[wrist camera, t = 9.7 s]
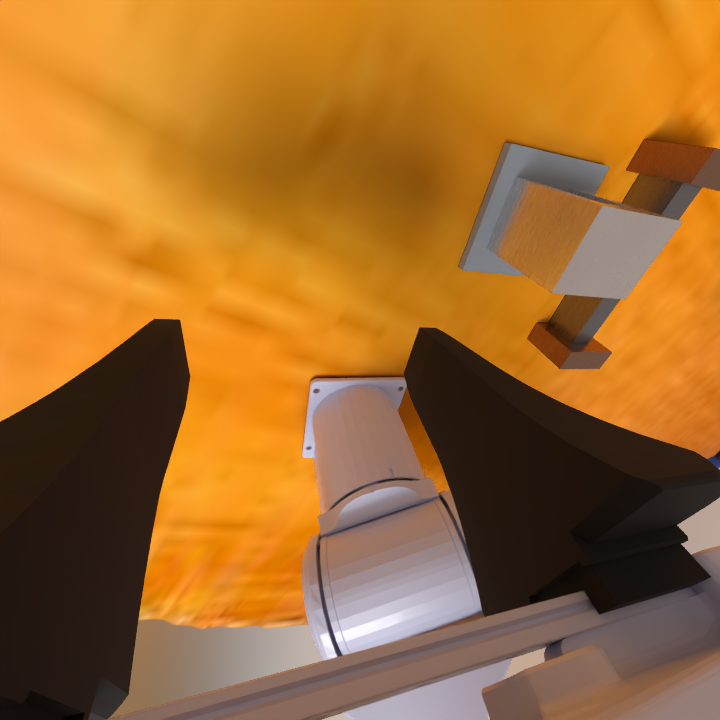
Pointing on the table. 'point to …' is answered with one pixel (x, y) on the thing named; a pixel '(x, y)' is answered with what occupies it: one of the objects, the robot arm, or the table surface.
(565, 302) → the rail
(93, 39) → the table surface
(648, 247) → the bracket
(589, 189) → the mat
